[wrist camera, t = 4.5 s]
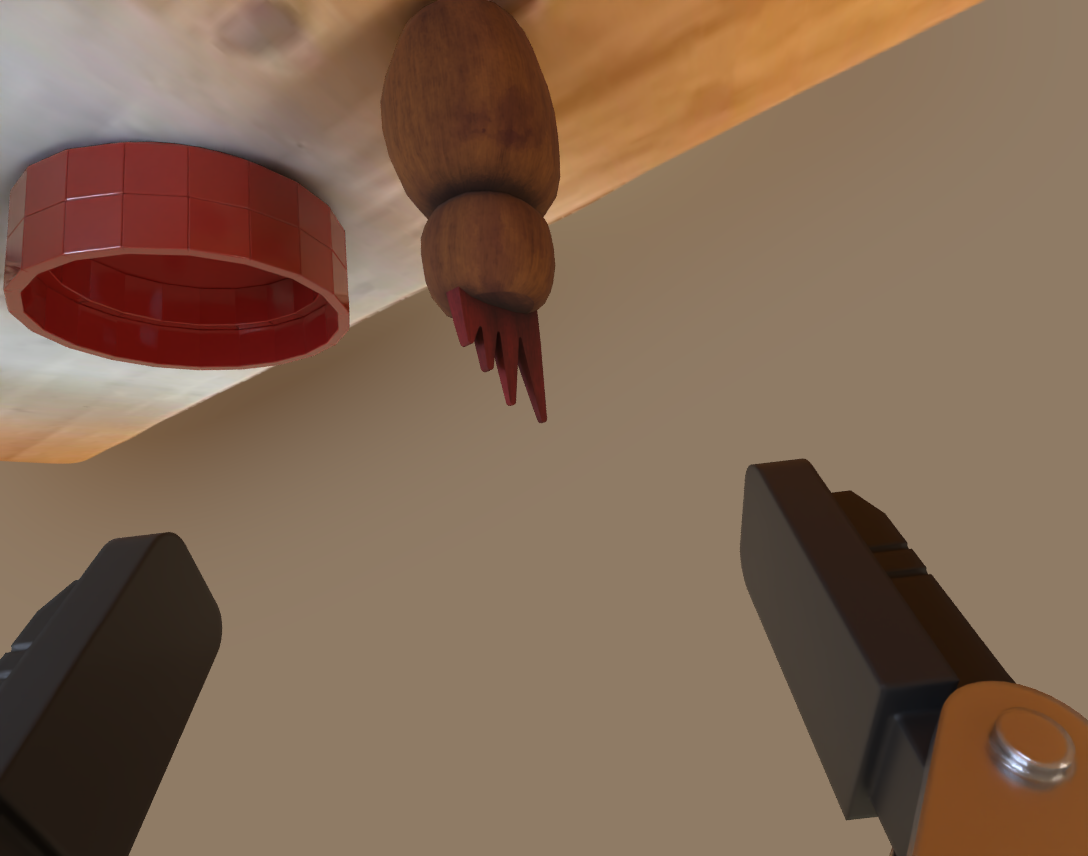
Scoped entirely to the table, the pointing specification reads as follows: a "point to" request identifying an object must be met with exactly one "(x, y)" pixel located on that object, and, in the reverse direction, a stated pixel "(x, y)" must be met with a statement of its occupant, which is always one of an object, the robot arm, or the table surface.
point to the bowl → (174, 258)
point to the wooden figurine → (478, 177)
